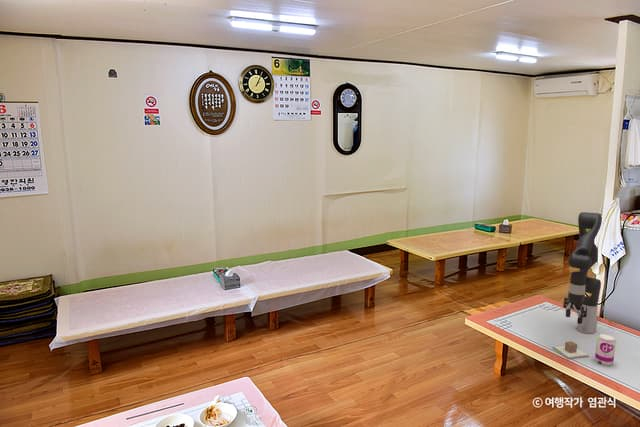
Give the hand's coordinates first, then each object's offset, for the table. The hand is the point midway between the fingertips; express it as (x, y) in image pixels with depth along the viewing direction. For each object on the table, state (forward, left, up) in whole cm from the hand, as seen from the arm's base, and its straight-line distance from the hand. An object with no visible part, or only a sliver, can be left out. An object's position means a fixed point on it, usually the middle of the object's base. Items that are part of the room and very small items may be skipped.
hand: (573, 320), depth 238 cm
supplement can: (-10, +12, -20) cm, 25 cm away
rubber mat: (0, 0, -20) cm, 20 cm away
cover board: (0, 0, -19) cm, 19 cm away
